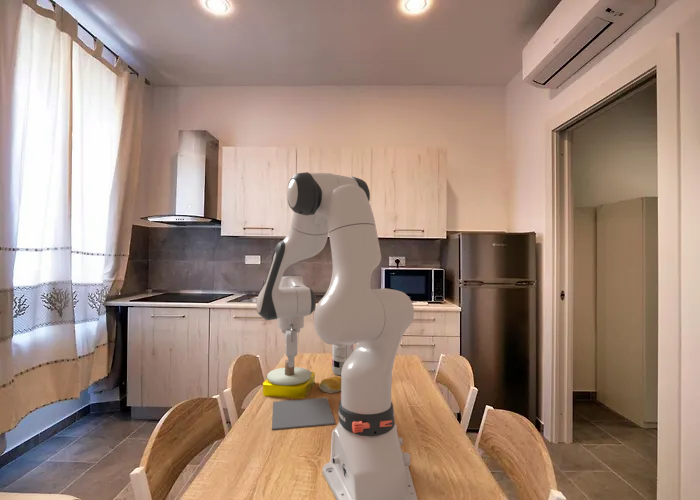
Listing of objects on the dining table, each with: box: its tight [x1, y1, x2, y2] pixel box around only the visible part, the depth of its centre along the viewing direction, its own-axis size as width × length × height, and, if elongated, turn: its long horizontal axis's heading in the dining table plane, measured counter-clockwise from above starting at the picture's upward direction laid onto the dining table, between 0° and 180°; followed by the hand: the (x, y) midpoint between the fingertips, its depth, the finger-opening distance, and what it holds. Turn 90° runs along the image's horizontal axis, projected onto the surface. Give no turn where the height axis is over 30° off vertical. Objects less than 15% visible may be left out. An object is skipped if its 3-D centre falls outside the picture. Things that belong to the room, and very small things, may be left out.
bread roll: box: [319, 375, 341, 394], centre depth 121 cm, size 8×9×4 cm
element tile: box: [262, 371, 316, 400], centre depth 120 cm, size 15×15×5 cm
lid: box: [266, 359, 312, 385], centre depth 119 cm, size 15×15×6 cm
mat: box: [271, 397, 336, 431], centre depth 102 cm, size 17×17×1 cm
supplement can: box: [331, 344, 354, 377], centre depth 137 cm, size 8×8×15 cm
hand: (290, 362), depth 119 cm, fingers open, 8 cm apart
